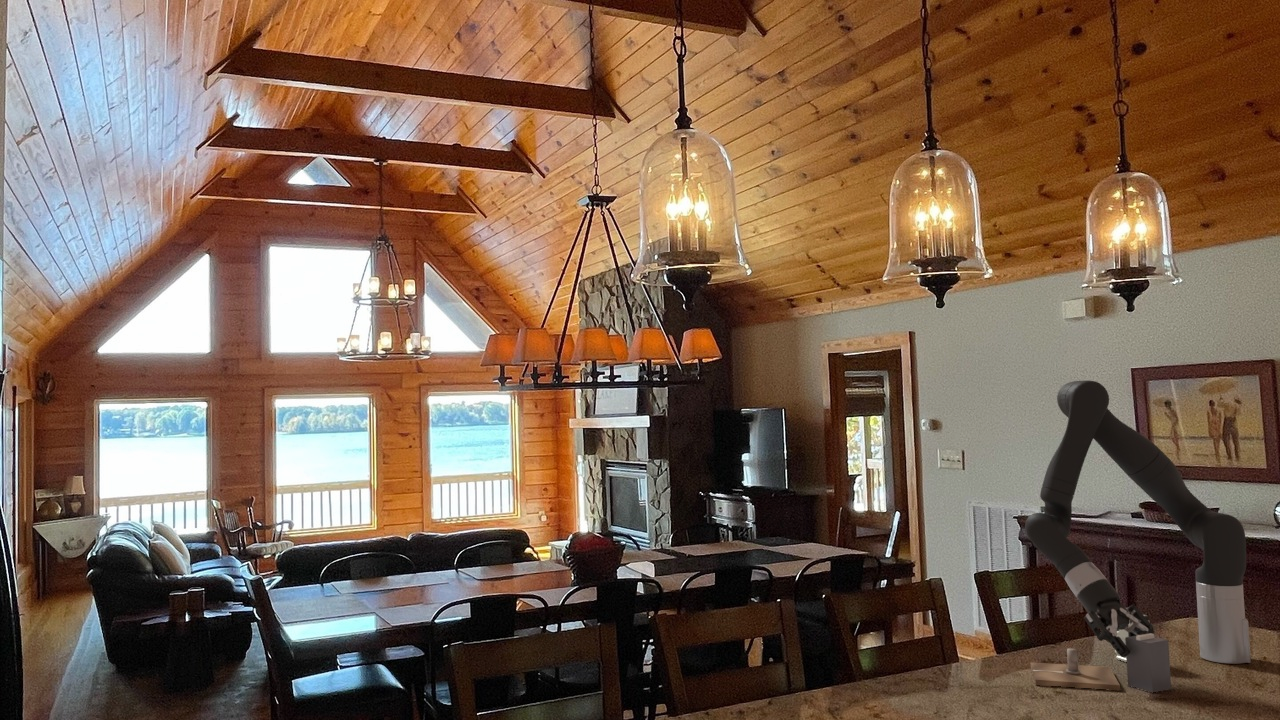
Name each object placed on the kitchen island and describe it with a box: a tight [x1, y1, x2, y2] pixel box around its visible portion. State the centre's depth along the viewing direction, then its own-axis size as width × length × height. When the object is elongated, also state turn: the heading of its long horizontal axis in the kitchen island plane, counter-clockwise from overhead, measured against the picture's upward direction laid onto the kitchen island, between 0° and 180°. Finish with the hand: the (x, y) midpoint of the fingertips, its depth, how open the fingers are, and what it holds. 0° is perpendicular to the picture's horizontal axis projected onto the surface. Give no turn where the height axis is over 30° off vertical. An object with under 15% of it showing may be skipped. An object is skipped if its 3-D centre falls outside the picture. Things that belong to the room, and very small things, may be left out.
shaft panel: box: [1030, 647, 1121, 691], centre depth 198 cm, size 16×14×6 cm
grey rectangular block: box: [1125, 633, 1172, 694], centre depth 191 cm, size 6×6×11 cm
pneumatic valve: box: [1114, 614, 1155, 663], centre depth 211 cm, size 6×12×12 cm, turn 15°
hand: (1140, 652), depth 192 cm, fingers open, 8 cm apart
